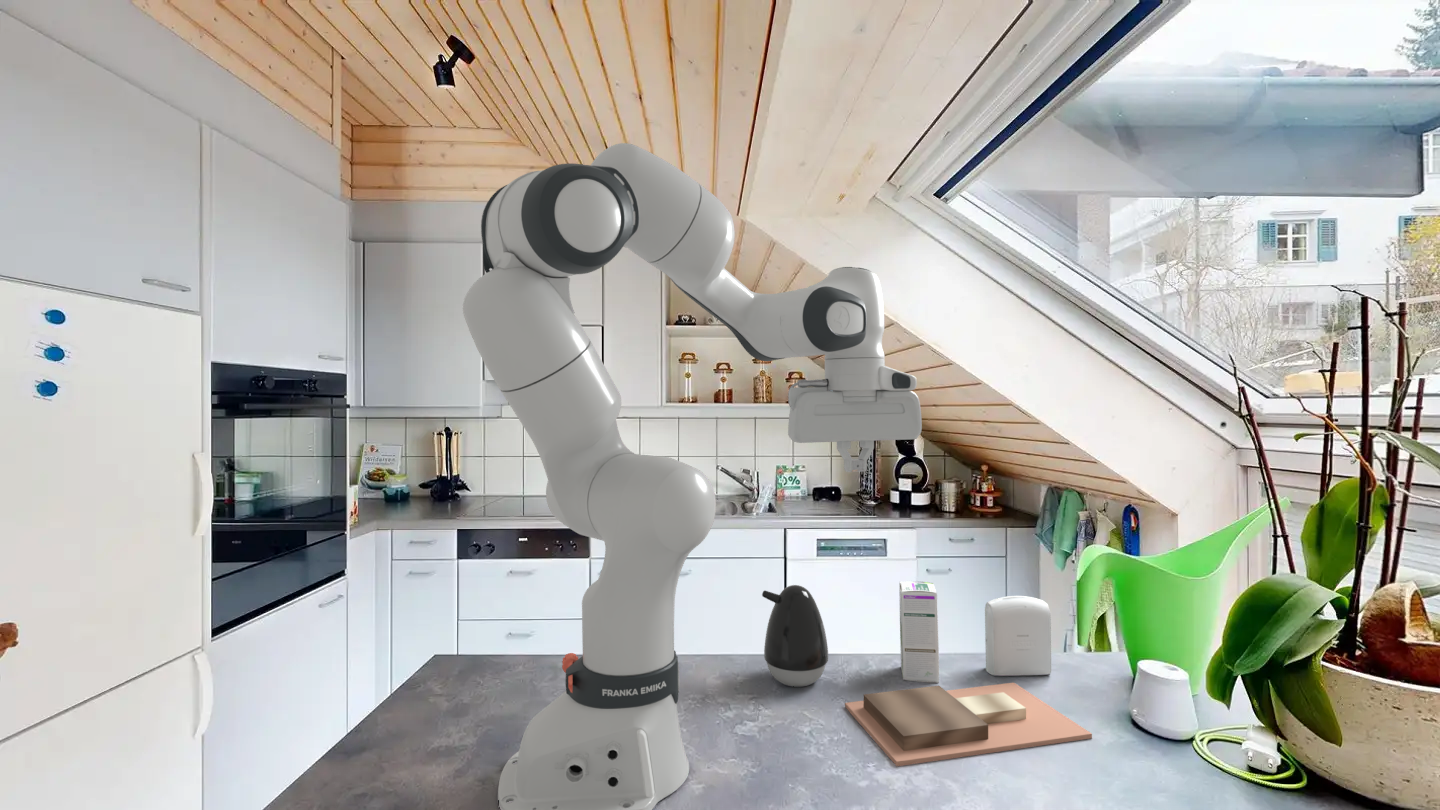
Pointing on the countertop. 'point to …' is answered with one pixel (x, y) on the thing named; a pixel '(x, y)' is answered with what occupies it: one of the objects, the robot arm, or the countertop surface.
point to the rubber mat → (1030, 732)
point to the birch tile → (994, 707)
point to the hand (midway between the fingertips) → (855, 471)
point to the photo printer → (1017, 636)
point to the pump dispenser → (795, 638)
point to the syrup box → (919, 631)
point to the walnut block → (924, 718)
